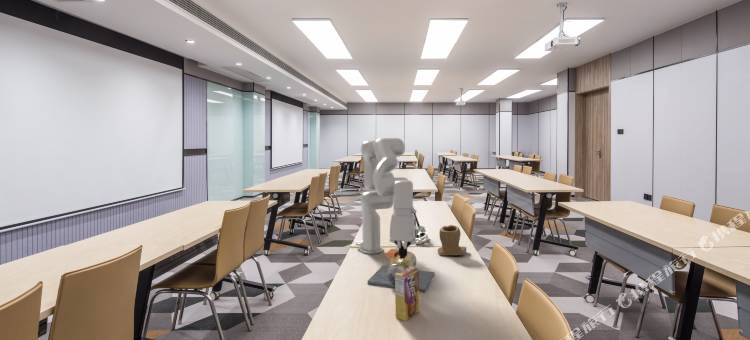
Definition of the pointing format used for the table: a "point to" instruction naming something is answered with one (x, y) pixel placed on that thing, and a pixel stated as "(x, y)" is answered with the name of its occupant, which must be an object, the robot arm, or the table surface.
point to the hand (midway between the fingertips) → (402, 257)
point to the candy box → (407, 293)
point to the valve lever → (393, 252)
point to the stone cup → (450, 241)
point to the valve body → (387, 273)
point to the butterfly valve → (420, 232)
